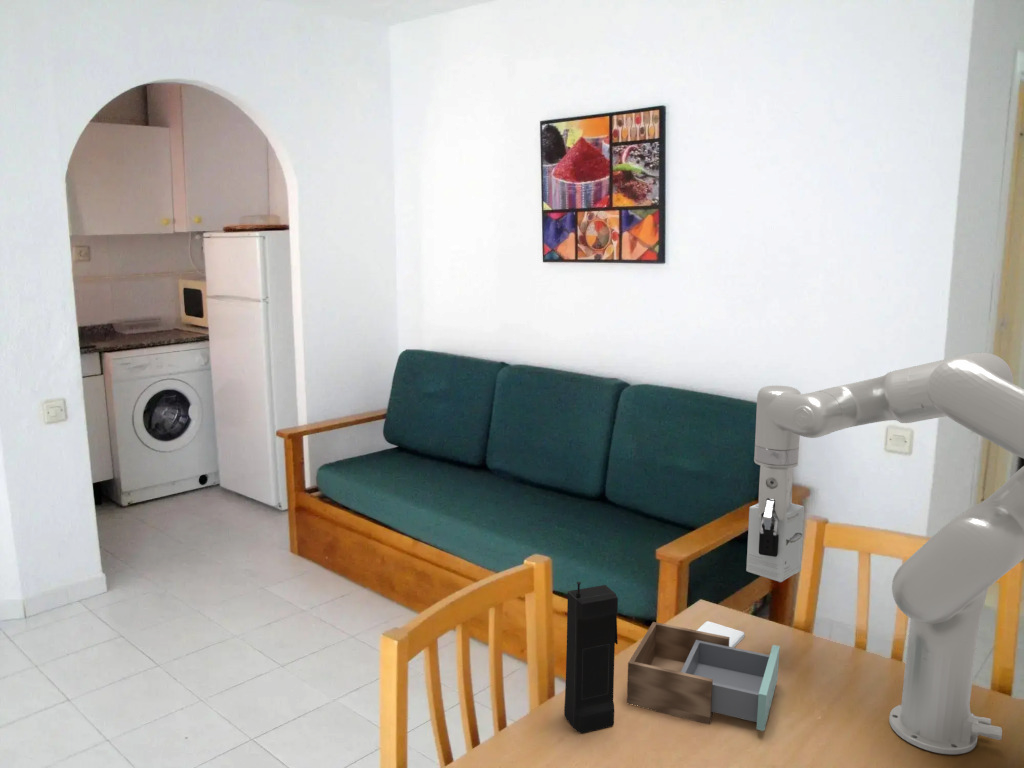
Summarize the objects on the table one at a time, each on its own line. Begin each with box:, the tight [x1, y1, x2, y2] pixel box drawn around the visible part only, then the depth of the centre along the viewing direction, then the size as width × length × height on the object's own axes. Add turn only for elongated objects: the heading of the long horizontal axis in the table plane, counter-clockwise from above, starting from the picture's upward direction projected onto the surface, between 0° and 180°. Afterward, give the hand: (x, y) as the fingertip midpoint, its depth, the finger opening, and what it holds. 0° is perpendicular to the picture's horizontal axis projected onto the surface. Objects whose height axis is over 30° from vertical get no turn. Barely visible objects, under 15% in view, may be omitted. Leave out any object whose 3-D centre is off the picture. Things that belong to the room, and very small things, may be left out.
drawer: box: [681, 640, 781, 732], centre depth 139 cm, size 14×17×6 cm
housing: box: [626, 621, 730, 725], centre depth 143 cm, size 14×16×8 cm
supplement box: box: [745, 502, 806, 583], centre depth 149 cm, size 7×7×13 cm
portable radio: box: [563, 581, 619, 734], centre depth 132 cm, size 8×6×25 cm
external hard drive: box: [695, 620, 745, 648], centre depth 160 cm, size 2×8×12 cm
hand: (771, 545), depth 149 cm, fingers closed on supplement box, 9 cm apart
